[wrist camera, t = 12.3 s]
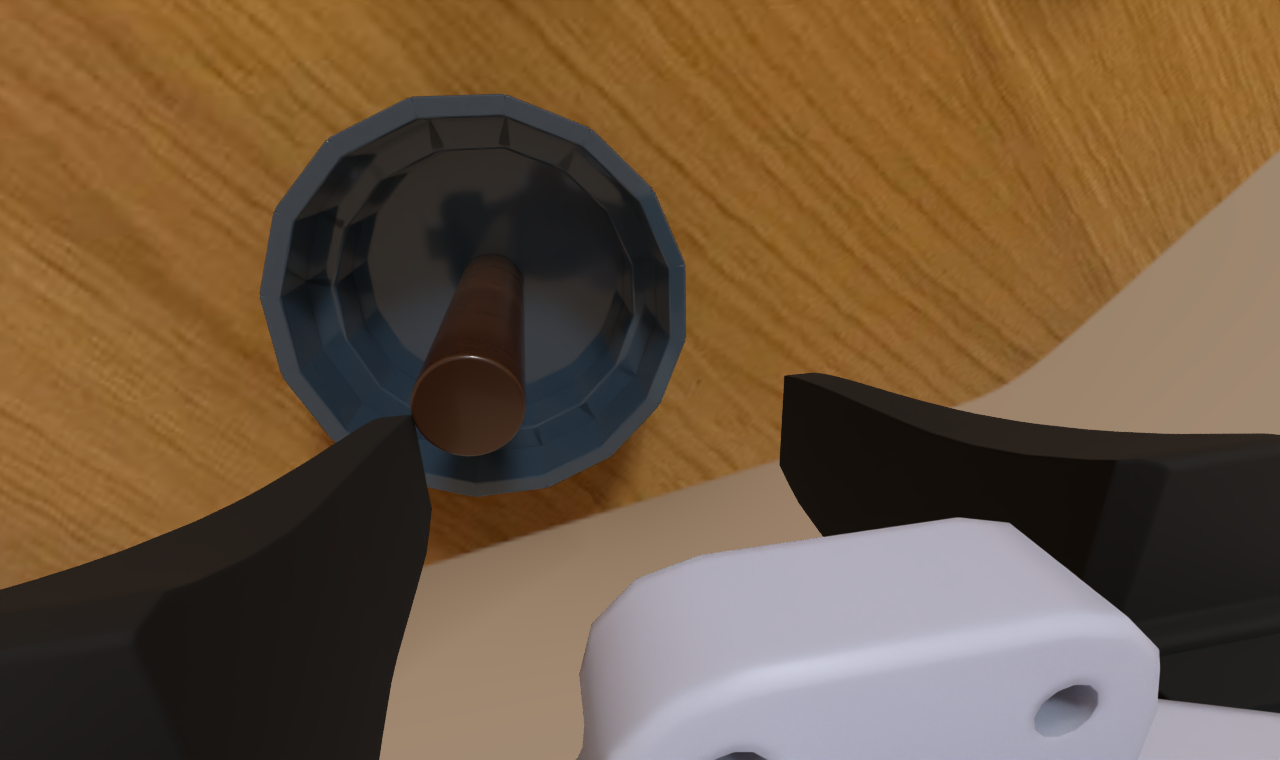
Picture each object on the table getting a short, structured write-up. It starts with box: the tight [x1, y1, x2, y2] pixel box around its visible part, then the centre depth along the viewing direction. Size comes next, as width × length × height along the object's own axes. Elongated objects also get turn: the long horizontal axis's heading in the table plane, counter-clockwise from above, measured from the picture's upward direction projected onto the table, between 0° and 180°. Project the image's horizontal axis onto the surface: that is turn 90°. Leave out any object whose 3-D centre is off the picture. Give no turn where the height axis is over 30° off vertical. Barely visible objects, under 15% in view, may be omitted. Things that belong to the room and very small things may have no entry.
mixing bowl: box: [260, 94, 686, 497], centre depth 18 cm, size 11×11×4 cm
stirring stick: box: [410, 254, 526, 456], centre depth 15 cm, size 2×2×10 cm
